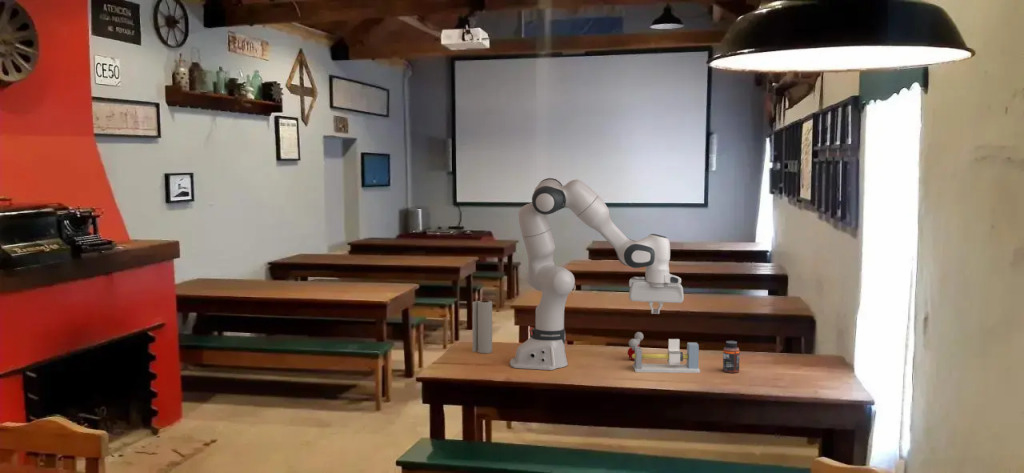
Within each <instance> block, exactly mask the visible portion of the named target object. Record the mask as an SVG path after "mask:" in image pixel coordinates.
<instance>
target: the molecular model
mask: <svg viewBox="0 0 1024 473" xmlns="http://www.w3.org/2000/svg"><path fill="white" fill-rule="evenodd" d="M643 339H644V334H643V332H641V331H637V332H635V334H634V338H631V339H629V341H628V346H629V347H628V349H627V356H628V358H629V359H630V360H632V361H634V360H635V359H634V358H632V354H635V347H640V343H641V341H643Z"/></svg>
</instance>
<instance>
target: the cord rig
mask: <svg viewBox="0 0 1024 473" xmlns="http://www.w3.org/2000/svg"><path fill="white" fill-rule="evenodd" d="M699 346H700V345H699V344H698V342H691V341H690V342H687V344H686V353H684V352H683V351H680V362H683V361H684V360H686V363H680V365H669V364H668V363H643V362H642V361H643V360H644V359H647V360H667V359H669V354H667V353H643V350H642V349H641V346H639V347H635V354H632V358H634V359H635V360H633V363H632V367H633V370H634V372H635V373H671V374H674V373H675V374H676V373H677V374H678V373H684V374H685V373H686V374H687V373H688V374H689V373H690V374H692V373H693V374H697V373H698V374H700V373H701V369H700V368H699V359H700V358H699V357H700V356H699V352H700V351H699V349H700V347H699Z"/></svg>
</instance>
